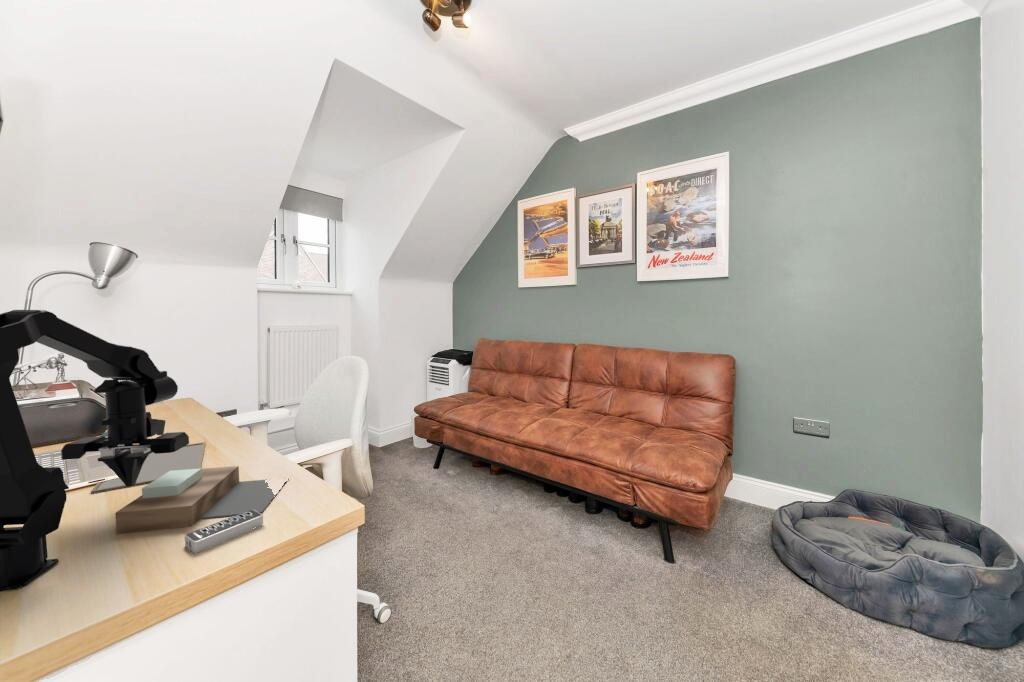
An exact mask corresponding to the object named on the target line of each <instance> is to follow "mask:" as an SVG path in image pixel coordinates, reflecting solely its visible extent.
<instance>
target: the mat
mask: <svg viewBox="0 0 1024 682" xmlns="http://www.w3.org/2000/svg"><path fill="white" fill-rule="evenodd" d="M265 480H266V479H256V480H244V481H239V482H238V483H237V484H235V485H234V486H233V487H232V488H231V489H230V490H229V491H228V492H227V493H226V494H225V495H224V496H223V497H221V498H220V499H219V500H218V501H217V502H216V503H215V504H214V505H213V506H212V507H211V508H210V509H209V510H207V511H206V512H205V513H204V514H203V515H202V516H201V517H200V519H199V520H205V519H214V518H215V519H216V518H225V517H227V518H228V517H233V516H235V515H238V514H241V513H243V512H246V511H249V510H255V511H257V512H259V513H261V514H263V513H264V511H265V510H266V509H267V508H268V506H269V505H270V504H269V503H270V502H272V501H273V500H274V499H275V497H276V496H275V495H274V494H273V492H272V489H270V488H267V487H269V486H268V483H267V482H266V483H265ZM274 496H275V497H274ZM273 498H274V499H273ZM272 499H273V500H272ZM271 500H272V501H271ZM266 507H267V508H266ZM262 512H263V513H262Z"/></svg>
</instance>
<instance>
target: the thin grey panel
mask: <svg viewBox="0 0 1024 682" xmlns="http://www.w3.org/2000/svg"><path fill="white" fill-rule="evenodd" d="M206 443H207V442H205V441H204V442H198V443H197V442H196V443H189V444H188V445H186V446H184V447H182V448H181V449H179V450H177V451H175V452H171V453H159V454H155V453H154V452H153V453H151V454H149V455H148V457H147V458H146V460H145V462H144V463H143V466H142V468H141V471H140V473H139V476H138V478H137V481H136V483H135V485H133V486H132V487H135V486H142V485H148V484H150V483H151V482H153V481H155V480H156V479H158V478H159V477H161V476H162V475H164V474H166V473H167V472H169V471H173V470H187V469H200V468H202V466H203V465H202V464H203V460H204V455H205V448H206ZM94 485H95V486H93V488H92V489H91V490H90V495H93V494H97V493H98V494H99V493H104V492H108V491H114V490H120V489H124V488H125V489H126V488H128V487H127V486H126V485H125V484H124V483H123V482H122V480H121V479H120V478H117V479H114V480H108V481H106V482H103V483H101V482H100V483H98V482H97V483H96V484H94ZM92 493H93V494H92Z"/></svg>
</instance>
